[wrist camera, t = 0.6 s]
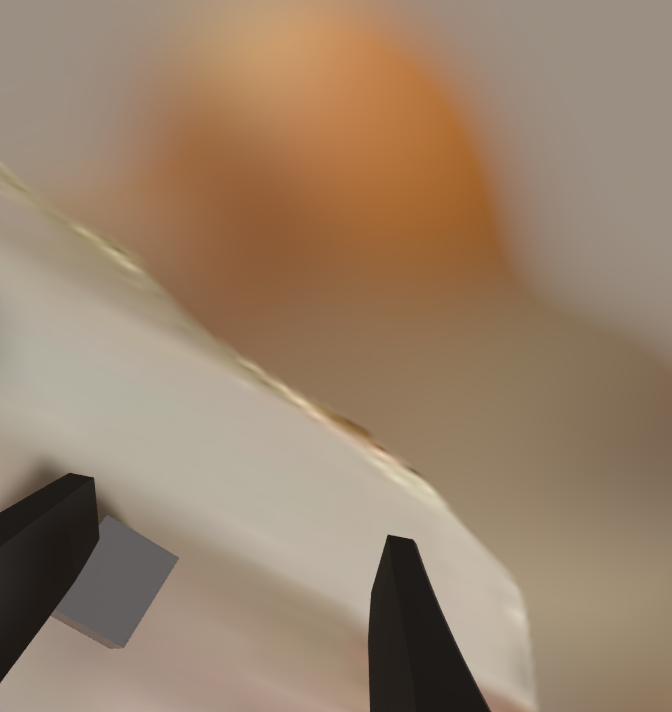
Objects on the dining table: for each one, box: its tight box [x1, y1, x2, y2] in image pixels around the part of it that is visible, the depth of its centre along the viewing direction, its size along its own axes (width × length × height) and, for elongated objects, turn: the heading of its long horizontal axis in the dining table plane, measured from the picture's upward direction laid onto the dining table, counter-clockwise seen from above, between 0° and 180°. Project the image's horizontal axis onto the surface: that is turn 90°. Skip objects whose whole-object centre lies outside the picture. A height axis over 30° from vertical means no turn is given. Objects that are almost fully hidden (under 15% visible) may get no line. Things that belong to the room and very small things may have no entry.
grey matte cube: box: [50, 515, 179, 649], centre depth 21 cm, size 4×4×5 cm
